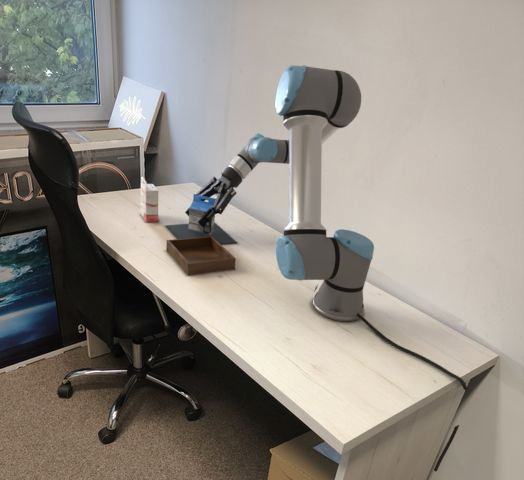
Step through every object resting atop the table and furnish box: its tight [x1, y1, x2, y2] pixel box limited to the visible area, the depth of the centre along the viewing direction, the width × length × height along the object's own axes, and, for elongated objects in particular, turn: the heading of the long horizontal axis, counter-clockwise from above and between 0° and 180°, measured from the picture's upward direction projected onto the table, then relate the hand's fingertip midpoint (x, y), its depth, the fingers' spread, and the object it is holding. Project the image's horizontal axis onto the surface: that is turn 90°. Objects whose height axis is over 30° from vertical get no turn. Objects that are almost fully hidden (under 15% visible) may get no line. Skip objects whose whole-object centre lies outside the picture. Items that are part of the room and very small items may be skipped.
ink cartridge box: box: [140, 176, 159, 223], centre depth 180 cm, size 9×5×15 cm, turn 25°
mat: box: [165, 222, 238, 246], centre depth 177 cm, size 20×20×1 cm
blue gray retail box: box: [188, 193, 216, 235], centre depth 173 cm, size 9×4×12 cm, turn 76°
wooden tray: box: [165, 236, 237, 276], centre depth 158 cm, size 19×17×4 cm
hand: (193, 219), depth 172 cm, fingers closed on blue gray retail box, 9 cm apart
